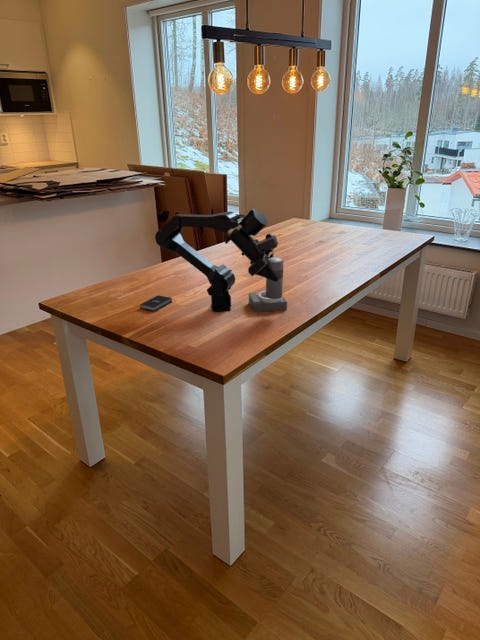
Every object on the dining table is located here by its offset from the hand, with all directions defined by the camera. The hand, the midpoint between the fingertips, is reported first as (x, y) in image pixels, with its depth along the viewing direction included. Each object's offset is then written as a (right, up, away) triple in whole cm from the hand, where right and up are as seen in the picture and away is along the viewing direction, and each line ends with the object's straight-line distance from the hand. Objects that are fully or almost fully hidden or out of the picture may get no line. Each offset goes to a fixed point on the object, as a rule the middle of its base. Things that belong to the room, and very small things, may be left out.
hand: (278, 277), depth 149 cm
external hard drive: (-44, -9, +15) cm, 47 cm away
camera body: (-3, -9, +12) cm, 15 cm away
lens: (-1, -6, +3) cm, 7 cm away
